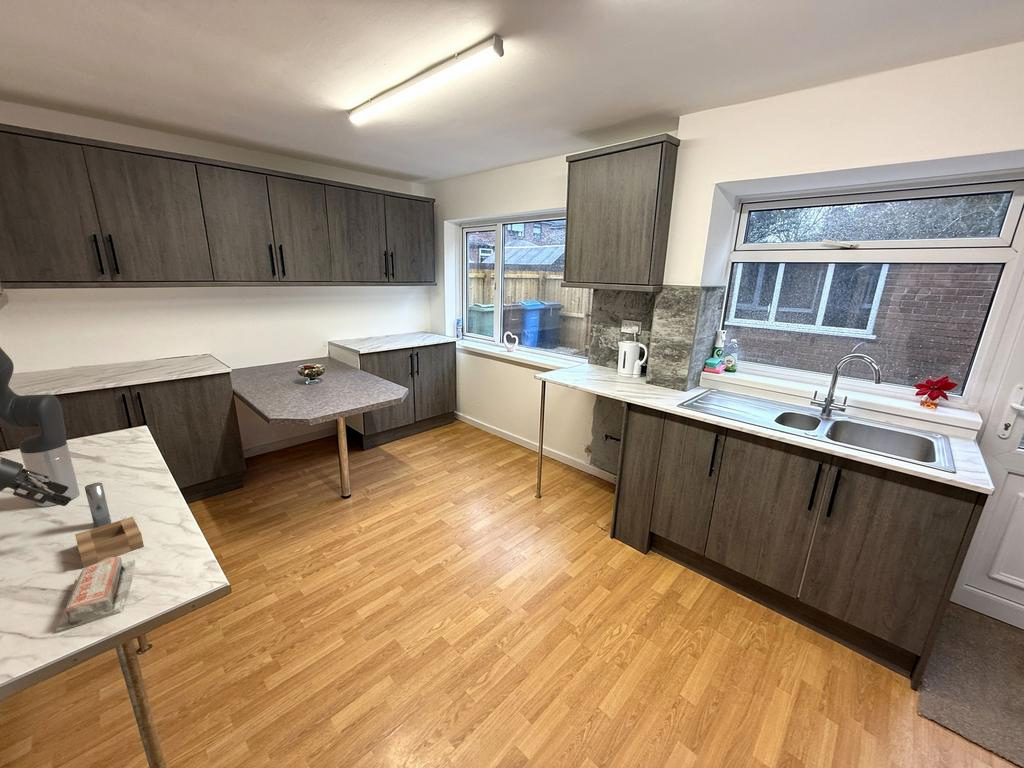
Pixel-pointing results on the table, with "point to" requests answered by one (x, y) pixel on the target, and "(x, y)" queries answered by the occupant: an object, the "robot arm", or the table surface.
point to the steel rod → (98, 504)
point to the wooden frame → (108, 541)
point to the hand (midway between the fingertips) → (67, 496)
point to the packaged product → (98, 592)
